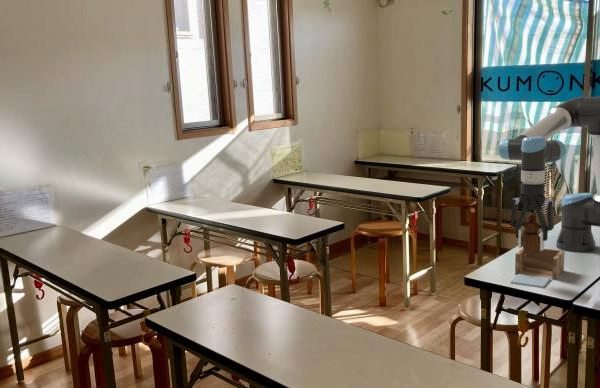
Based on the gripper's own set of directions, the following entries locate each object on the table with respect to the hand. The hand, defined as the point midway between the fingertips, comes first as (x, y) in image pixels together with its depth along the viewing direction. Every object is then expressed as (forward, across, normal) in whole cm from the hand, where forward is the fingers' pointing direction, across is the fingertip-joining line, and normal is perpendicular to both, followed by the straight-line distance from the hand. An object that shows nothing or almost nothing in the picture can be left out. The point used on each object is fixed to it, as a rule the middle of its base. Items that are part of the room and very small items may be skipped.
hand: (531, 248), depth 204 cm
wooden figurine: (+2, 0, 0) cm, 2 cm away
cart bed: (+13, 0, +12) cm, 18 cm away
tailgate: (+12, 0, +6) cm, 13 cm away
